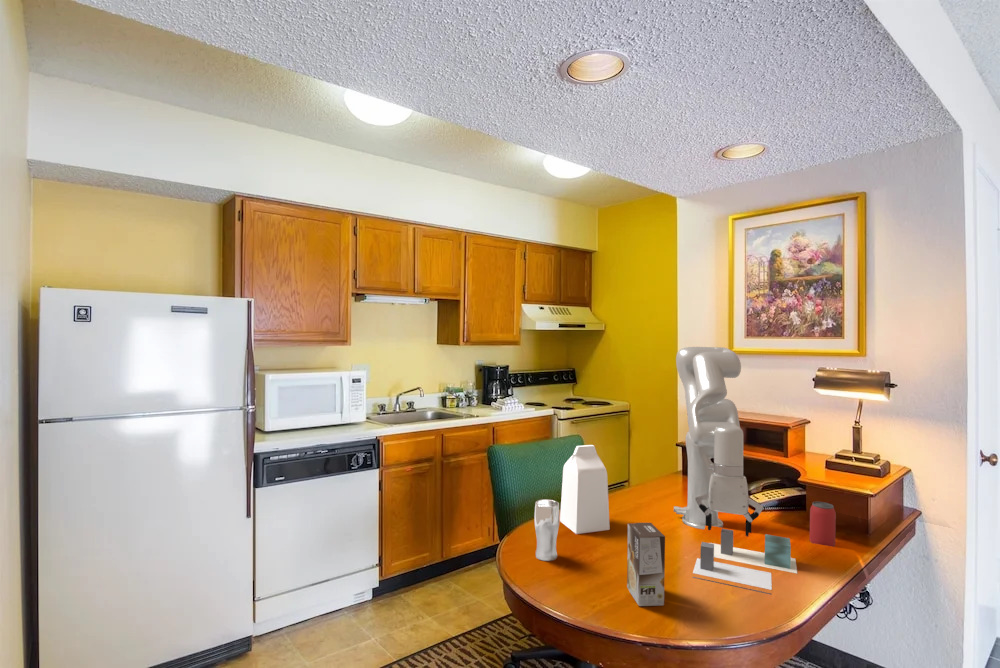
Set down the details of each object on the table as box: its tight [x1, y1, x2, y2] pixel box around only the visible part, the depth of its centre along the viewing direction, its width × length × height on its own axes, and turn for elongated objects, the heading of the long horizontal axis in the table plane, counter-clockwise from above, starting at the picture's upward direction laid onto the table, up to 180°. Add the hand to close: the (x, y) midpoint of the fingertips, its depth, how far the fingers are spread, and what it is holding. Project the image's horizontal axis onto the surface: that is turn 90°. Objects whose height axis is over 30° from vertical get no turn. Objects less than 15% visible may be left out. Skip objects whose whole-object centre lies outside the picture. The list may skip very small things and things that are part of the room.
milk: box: [559, 444, 611, 535], centre depth 169 cm, size 12×12×26 cm
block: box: [764, 533, 792, 569], centre depth 140 cm, size 6×6×6 cm
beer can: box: [809, 501, 837, 548], centre depth 156 cm, size 7×7×12 cm
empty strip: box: [692, 541, 773, 595], centre depth 133 cm, size 18×10×7 cm, turn 63°
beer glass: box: [533, 498, 560, 562], centre depth 145 cm, size 7×7×15 cm
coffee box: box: [626, 522, 666, 607], centre depth 123 cm, size 9×6×16 cm
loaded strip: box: [710, 528, 798, 574], centre depth 143 cm, size 22×10×7 cm, turn 63°
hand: (728, 531), depth 145 cm, fingers open, 9 cm apart
